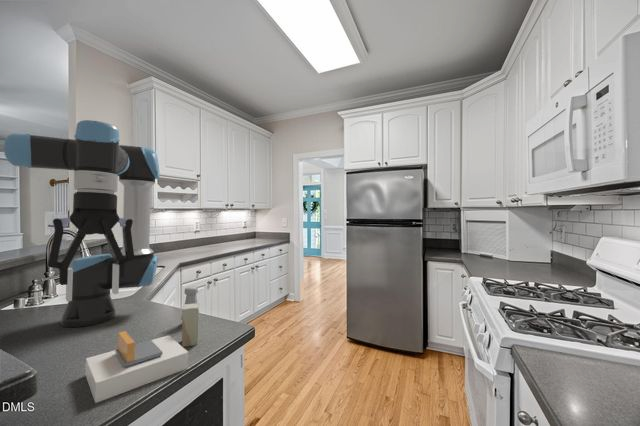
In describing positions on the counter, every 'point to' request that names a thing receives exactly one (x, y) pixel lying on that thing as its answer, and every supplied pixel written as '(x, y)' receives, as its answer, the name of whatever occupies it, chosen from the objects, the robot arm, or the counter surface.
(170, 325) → the counter surface
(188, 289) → the salt shaker
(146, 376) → the socket
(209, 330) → the counter surface
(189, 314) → the box
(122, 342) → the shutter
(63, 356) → the counter surface
